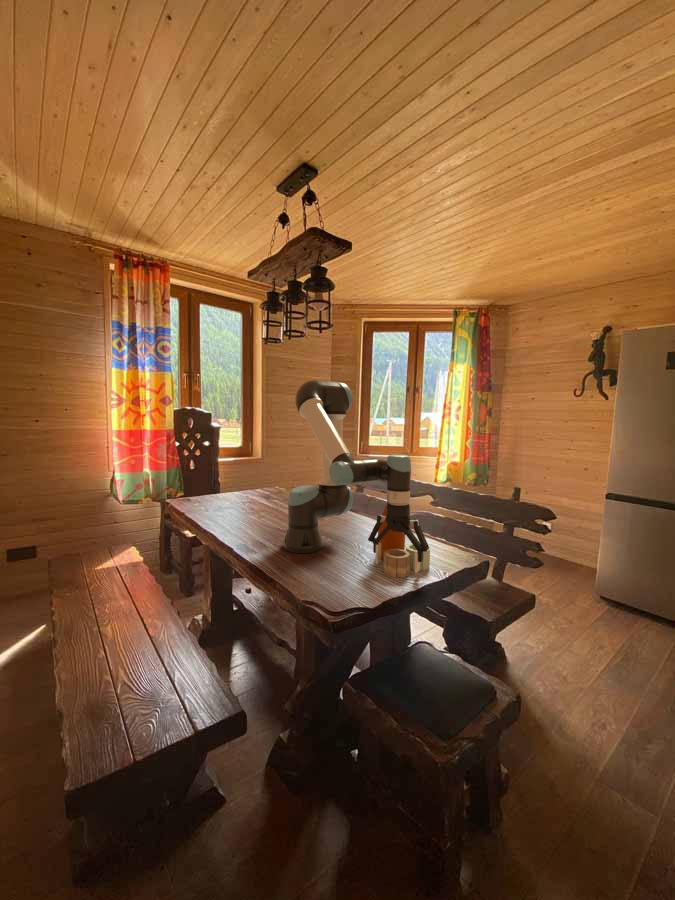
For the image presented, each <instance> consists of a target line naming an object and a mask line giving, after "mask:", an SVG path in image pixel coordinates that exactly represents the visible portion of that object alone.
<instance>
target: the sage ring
mask: <svg viewBox="0 0 675 900" xmlns="http://www.w3.org/2000/svg"><path fill="white" fill-rule="evenodd" d="M405 551H407V552H409V553H410V570H412V571H415V552H416V551H417V550H416V548H415V547H414V546H413V544H412V543H409V544H406V545H405ZM430 560H431V548H430V546H429V549H428V550H427V551H426V552H423V560H422V562H420V570H419V571H418V572H420V571H421V572H422V570H423V572H424V571H427V570H429V569H430V566H431V565H430V564H431V563H430ZM426 569H427V570H426Z"/></svg>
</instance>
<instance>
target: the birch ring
mask: <svg viewBox="0 0 675 900" xmlns="http://www.w3.org/2000/svg"><path fill="white" fill-rule="evenodd" d="M382 566H383V569H382V570H383V573H384V574H385V575H386V576H388V577H390V578H395V579H396V578H397V579H400V578H399V577H401V578H406V576H407V575H408V574H409V573H410V570H411V569H410V553H409V552H407V551H406V549H404V550H401V549H388V550H386V551H385V552H384V559H383V565H382ZM410 574H411V573H410ZM410 574H409V575H410ZM409 575H408V576H409ZM408 576H407V577H408Z"/></svg>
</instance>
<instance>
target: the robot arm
mask: <svg viewBox="0 0 675 900" xmlns="http://www.w3.org/2000/svg"><path fill="white" fill-rule="evenodd" d="M294 399H295V401H294V402H295V407H296V410H297V412H298V413H299V415H300V417H302V418H304V419H305V420H306V422H307V424H308V426H309V427H310V429H311V432H312V433H313V435H314V436H315V438H316V440H317V442H318V444H319V446H320V448H321V480H320V481H319V482H318V484H317V485H318V486H317V485H314V484H309V485H300V486H296V487H294V488H292V489H290V491H289V492H288V498H287V506H288V507H287V512H288V513H287V515H288V517H287V518H288V519H287V520H288V521H287V522H288V525H287V531H286V533H285V538H284V540H283V549H284V550H285V551H288V552H290V553H295V554H309V553H310V554H311V553H315V552H317V551H318V552H319V551H321V549H323V546H324V543H323V538H322V535H321V532H320V528H319V519H322V518H327V517H335V516H340V515H343V514H346V513H349V510H351V508H352V506H353V502H354V494H353V492H352V489H351V487H349V485H355V484H360V483H362V484H363V483H372V482H381V483H382V482H383V483H386V504H387V509H386V513H387V516H383V514H382V513H381V514H379V515H377V517H376V523H375V524H374V526H373V528H372V530H371V532H370V533H369V536H368V539H367V541H369V542H371V543H372V545H373V546H372V547H373V553H374V554H375V564H376V565H378V564H380V563H381V562H382V558H381V543H378V542H379V541H380V540H381V539H382V538H383V537H384V536H385V535H386V534H387V532H388V531H389V530H390V529H391V530H392V531H397V532H403V533H404V534H405V537H407V538H408V540H409V541H410V544H413V546H414V547H415V548H416V550H417V551H416V552H415V570H414V573H415V574H417V573H418V572H420V571H419V570H420V562H422V560H423V552H426V551H427V550H428V549H429V547H430V546H429V544H428V542H427V541H428V540H427V539H426V536H425V535H424V533H423V532H424V531H423V530H422V528H421V524H420V523H421V522H420V520H419V519H418V518H417V519H416V520H414V519H411V517H410V516H411V504H410V503H411V479H412V478H411V475H412V474H411V473H412V463H411V457H410V456H409V455H406V454H405V455H404V454H389V455H388V456H387V459H381V458H377V457H373V458H372V457H371V458H364V459H357V460H355V458H354V457H353V455H352V453H350V451H349V449H348V446H346V444H345V442H344V437H343V436H344V427H343V424H344V419H345V417H347V412H348V411H349V410H350V409H351V408H352V405H353V394H352V390H351V389H350V388H349V386H348V385H347V384H346V383H344V382H338V381H327V380H317V379H316V380H315V379H313V380H307V381H305V382H303V383H302V384H301V385H300V386H299V387H298V389H297V390H296V395H295V398H294ZM387 502H388V503H387ZM384 520H385V521H386V523H387V524H388V525H387V526H386V528H385V529H384V530H383V531H382V532H381V533H380V534H379V535H378V530H379V528H380V526H381V525H382V522H384ZM410 525H411V526H412V528H413V529H414V532H415V534H414V532H413V531H412V529H411V528H410ZM415 535H416V536H415Z"/></svg>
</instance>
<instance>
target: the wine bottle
mask: <svg viewBox="0 0 675 900" xmlns="http://www.w3.org/2000/svg"><path fill="white" fill-rule="evenodd" d="M387 503H388V502H387V501H386V504H385V506H384V508H383V511H382V513H381V514H383V516H387V513H386V509H387ZM387 525H388V524H387V523H386V521H385V520H384V522H382V525H381V526H380V528H379V530H378V532H377V536H378V535H379V534H380V533H381V532H382V531H383V530H384V529H385V528H386V526H387ZM378 543H381V560H382V559H383V560H384V552H385V551H386V550H388V549H401V550H406V545H405V544H406V535H405V534H404V533H403V532H397V531H392V530H391V529H390V530H389V531H388V532H387V534H386V535H385V536H384V537H383V538H382V539H381V540H380V541H379V542H378Z"/></svg>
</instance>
